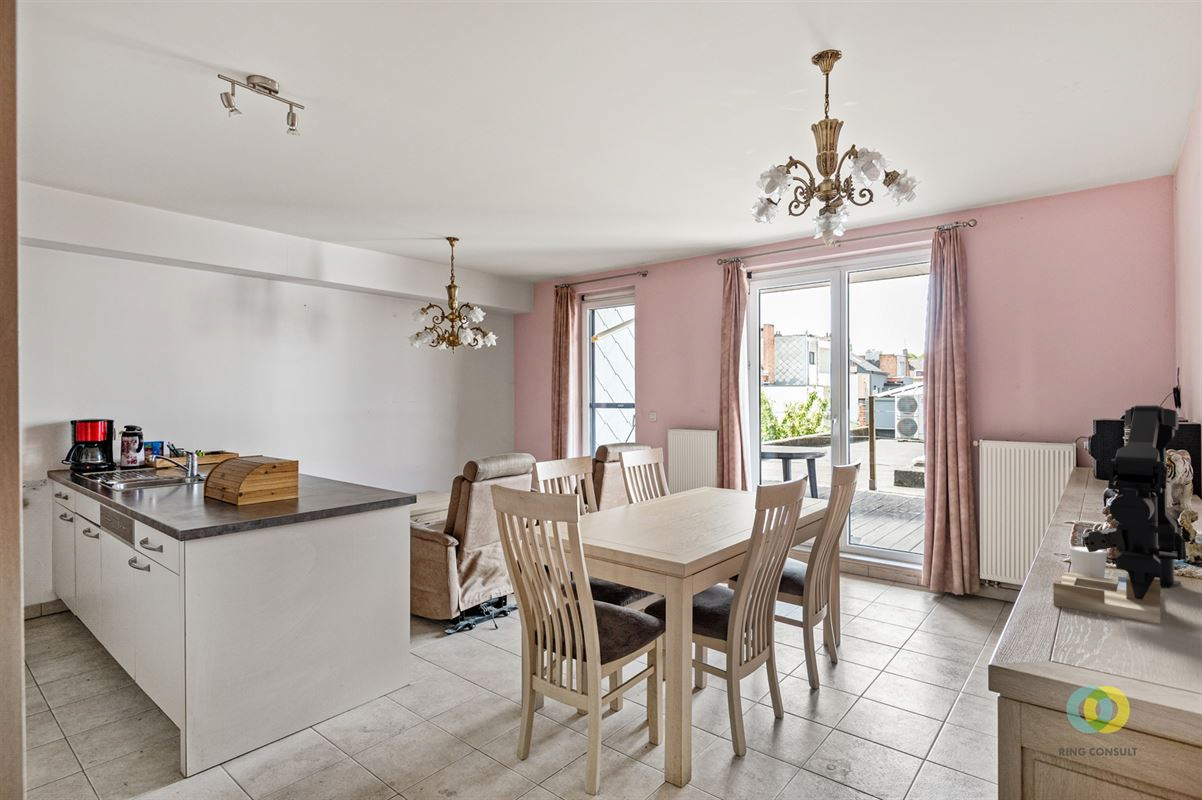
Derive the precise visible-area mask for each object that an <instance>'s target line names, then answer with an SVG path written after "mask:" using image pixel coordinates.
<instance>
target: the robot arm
mask: <svg viewBox="0 0 1202 800" xmlns="http://www.w3.org/2000/svg"><path fill="white" fill-rule="evenodd" d="M1124 413H1125V414H1124V427H1125V429H1127V430H1129V432H1128V436H1127V437H1128V438H1127V443H1126V445H1124V446H1122V447H1119V448H1118V449H1117V450H1116V454H1115V457H1114V458H1111V460H1110V467H1109V477H1108V485H1107V489H1108V490H1116V491H1118V494H1117V497H1116V498H1114V499H1113V500H1112V501H1111V502H1110V505H1109V513H1110V515H1111V517H1112V518H1113V519H1114V520H1115V521H1116V526H1115V527H1114V528H1107V529H1101V530H1100V529H1096V530H1094V531H1091V530H1089V531H1088V532H1085V533H1082V535H1081V539H1082V540H1083V542H1084V543H1083V544H1084V545H1085V547H1087V549H1088V551H1089V552H1095V551H1097V550H1101V549H1102V550H1106V549H1113V548H1116V551H1118V553H1117V554H1116V556H1115V568H1116V569H1119V570H1124V571H1125V572H1127V574H1129V578H1130V581H1131V585H1132V589H1133V592H1134V596H1135V598H1136V599H1141V600H1142V599H1143V598H1144V596H1145V594H1146V592H1147V591H1148V589H1149V587H1150V585H1151V584H1152V582H1153V580H1154V578H1155V577H1156V578H1160V588H1166V589H1171V588H1174V587H1177V586H1179V585H1182V581H1179V580H1175V561H1180V562H1181V561H1186V560H1187V545H1186V539H1184V537H1183V535H1182V532H1178V524H1177V521H1176V520H1175V519H1174V518H1173V517H1172V515H1171V514H1170V513H1169V512H1168V500H1167V499H1168V493H1167V487H1168V486H1167V485H1168V476H1169V475H1168V474H1169V468H1168V466H1167V460H1166V453H1167V452H1166V447H1167V446H1168V445H1169V443H1170V442H1171V441H1172V440H1173V439H1174V437H1175V434H1176V432H1175V431H1177V430H1179V425H1180V424H1179V421H1180V420H1179V414H1178V412H1177V410H1174V409H1171V408H1165V407H1163V406H1160V405H1150V404H1148V405H1145V404H1144V405H1139V404H1138V405H1135V406H1131V407H1130V408H1129V409H1126V410H1125V411H1124Z"/></svg>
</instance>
